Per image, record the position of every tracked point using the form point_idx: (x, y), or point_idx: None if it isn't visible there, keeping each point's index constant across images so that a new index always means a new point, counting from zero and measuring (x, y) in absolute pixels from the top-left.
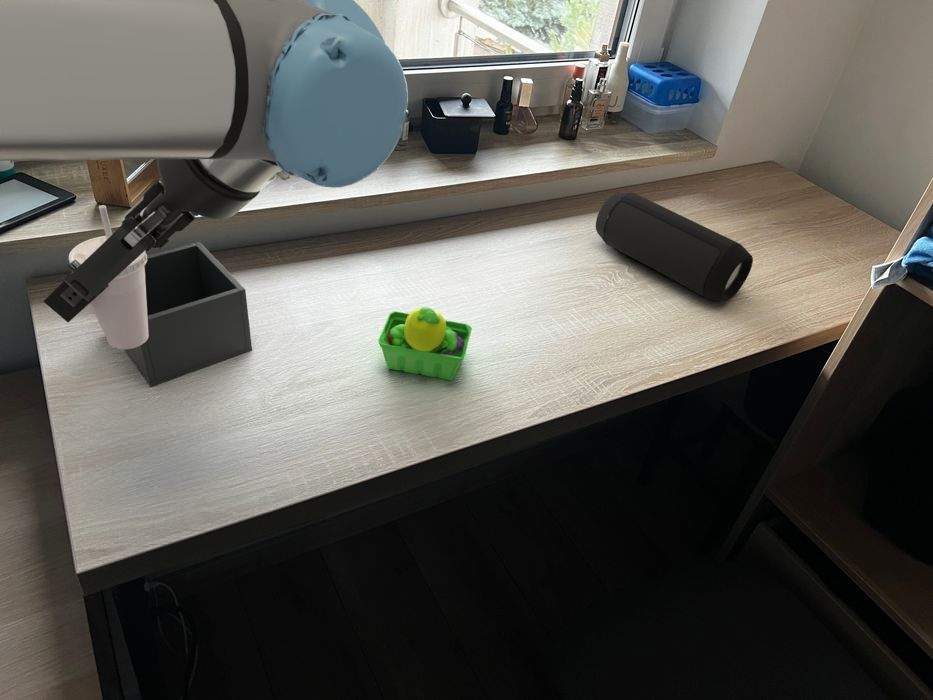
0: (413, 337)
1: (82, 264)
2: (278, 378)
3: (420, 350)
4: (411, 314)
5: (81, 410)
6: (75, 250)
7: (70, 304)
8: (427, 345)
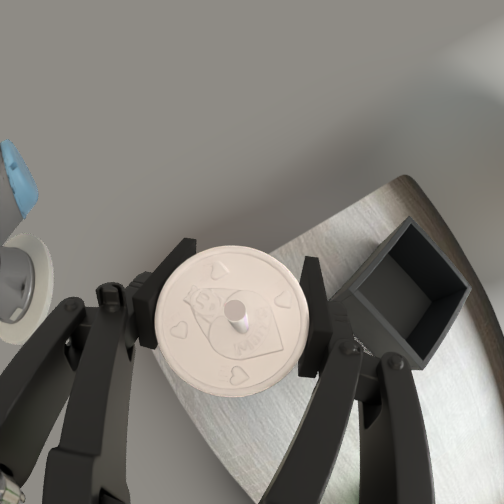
0: None
1: (28, 340)
2: (354, 405)
3: None
4: None
5: (287, 262)
6: (228, 253)
7: None
8: None
